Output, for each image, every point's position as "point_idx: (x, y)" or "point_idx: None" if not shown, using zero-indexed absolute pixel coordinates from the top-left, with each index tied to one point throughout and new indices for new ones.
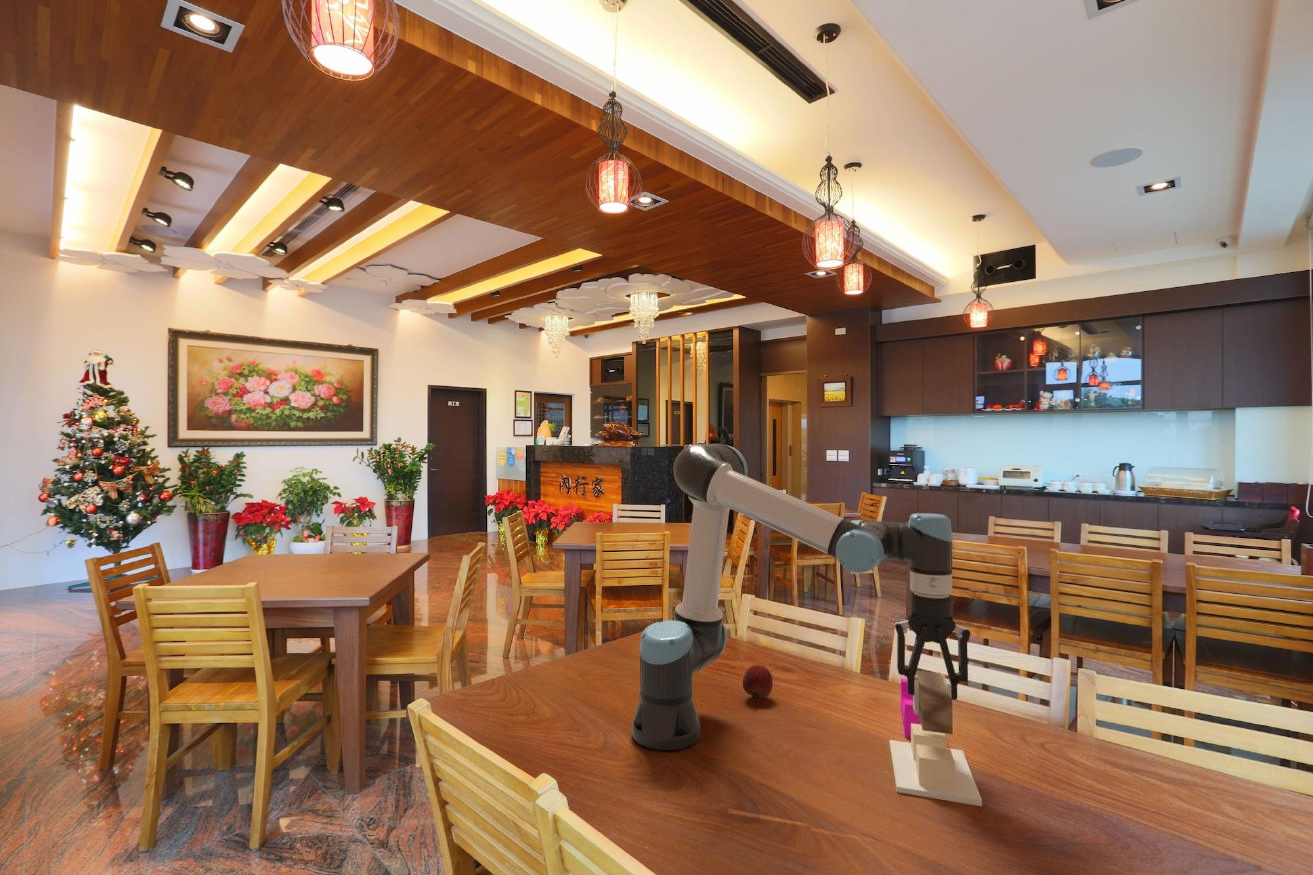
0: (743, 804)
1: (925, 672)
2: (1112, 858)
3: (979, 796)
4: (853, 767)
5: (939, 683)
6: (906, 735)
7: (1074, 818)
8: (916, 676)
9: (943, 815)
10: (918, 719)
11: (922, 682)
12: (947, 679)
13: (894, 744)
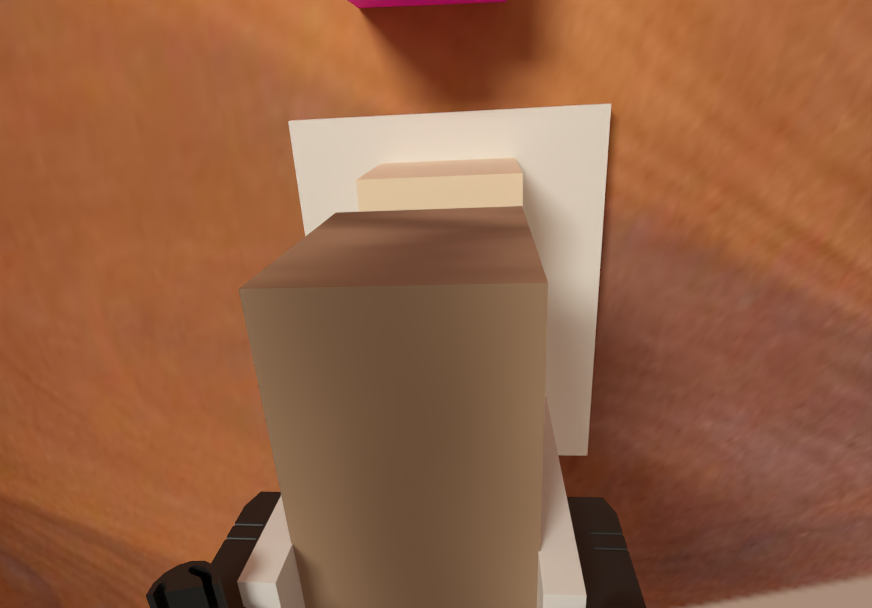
0: (10, 578)
1: (369, 324)
2: (855, 563)
3: (585, 435)
4: (198, 347)
5: (489, 559)
6: (363, 6)
7: (860, 428)
8: (271, 600)
9: None
10: None
11: (338, 576)
12: (570, 605)
13: (312, 160)
